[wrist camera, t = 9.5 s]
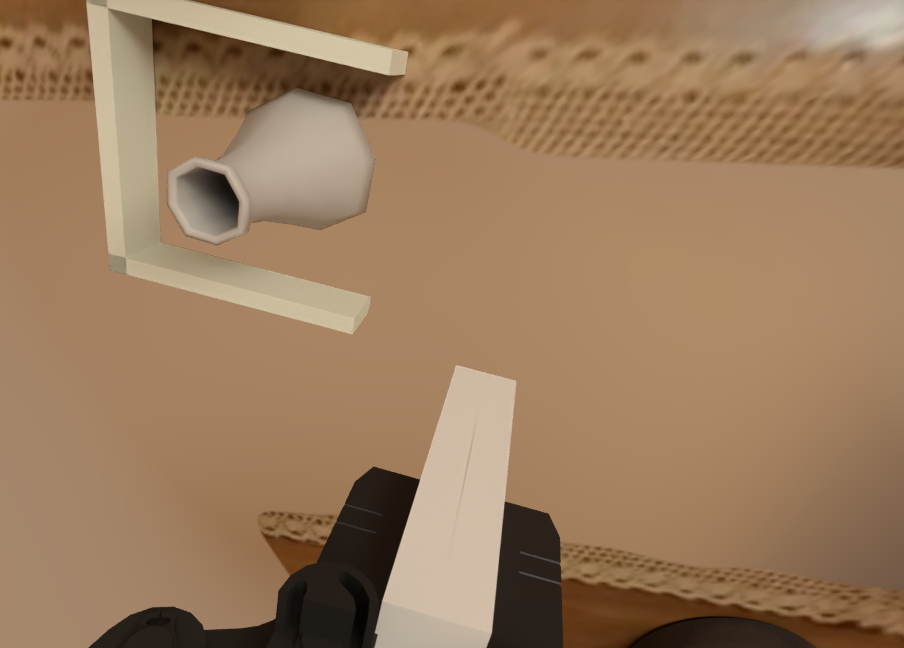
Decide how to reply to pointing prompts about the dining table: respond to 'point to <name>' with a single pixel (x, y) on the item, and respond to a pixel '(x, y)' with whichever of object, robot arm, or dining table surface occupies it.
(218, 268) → the u-shaped wooden frame
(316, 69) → the dining table surface
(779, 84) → the dining table surface
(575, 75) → the dining table surface
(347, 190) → the flask
